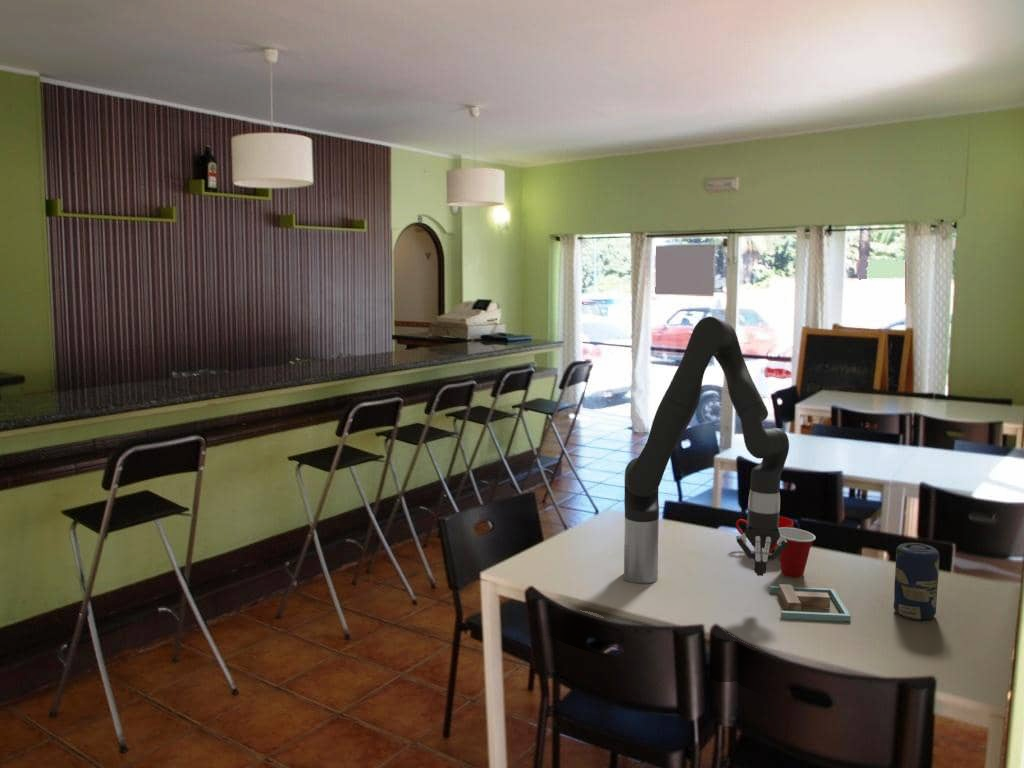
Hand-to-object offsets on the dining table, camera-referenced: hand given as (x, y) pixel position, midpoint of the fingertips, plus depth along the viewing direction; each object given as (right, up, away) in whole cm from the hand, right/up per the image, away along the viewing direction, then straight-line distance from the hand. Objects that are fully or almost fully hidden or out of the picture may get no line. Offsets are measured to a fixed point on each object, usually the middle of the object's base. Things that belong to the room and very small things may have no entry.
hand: (759, 574), depth 207 cm
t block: (+12, -8, +1) cm, 14 cm away
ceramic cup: (+13, -3, +40) cm, 42 cm away
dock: (+12, -8, 0) cm, 14 cm away
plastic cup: (+16, -5, +22) cm, 27 cm away
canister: (+36, -9, -5) cm, 38 cm away
